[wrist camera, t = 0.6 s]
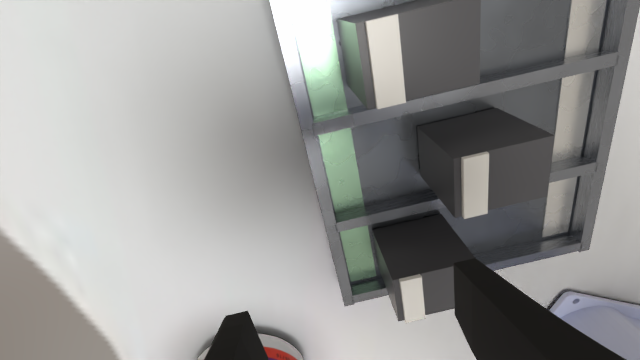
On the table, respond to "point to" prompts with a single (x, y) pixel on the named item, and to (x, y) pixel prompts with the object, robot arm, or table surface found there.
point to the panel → (493, 92)
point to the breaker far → (419, 265)
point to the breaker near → (411, 50)
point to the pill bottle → (273, 349)
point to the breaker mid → (485, 161)
